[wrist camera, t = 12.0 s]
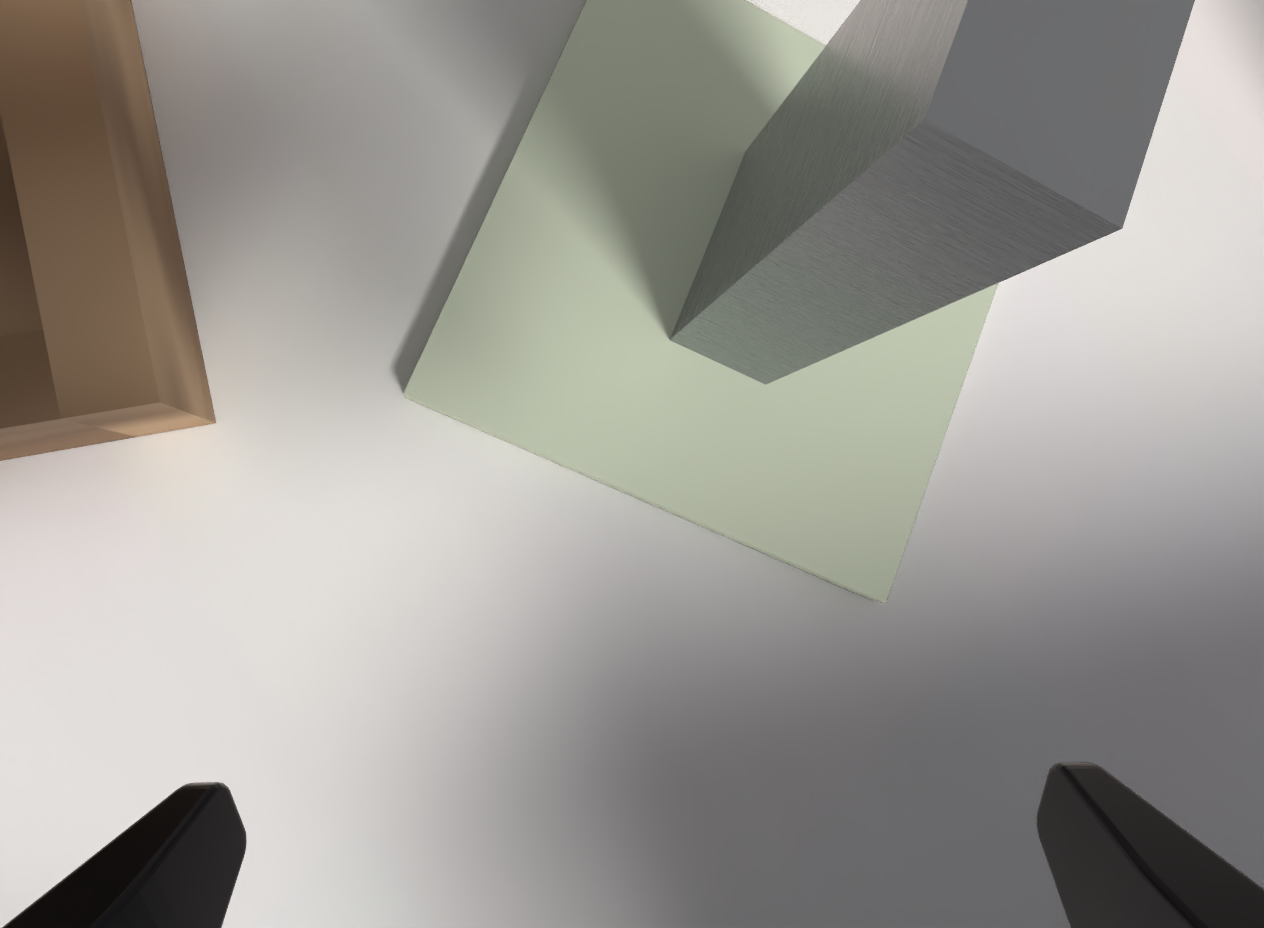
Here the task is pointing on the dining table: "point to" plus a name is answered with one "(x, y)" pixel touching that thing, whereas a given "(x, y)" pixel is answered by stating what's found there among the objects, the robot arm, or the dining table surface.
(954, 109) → the gray rectangular block
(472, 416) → the mat
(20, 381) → the slotted box
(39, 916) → the robot arm
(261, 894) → the dining table surface
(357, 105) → the dining table surface
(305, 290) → the dining table surface
